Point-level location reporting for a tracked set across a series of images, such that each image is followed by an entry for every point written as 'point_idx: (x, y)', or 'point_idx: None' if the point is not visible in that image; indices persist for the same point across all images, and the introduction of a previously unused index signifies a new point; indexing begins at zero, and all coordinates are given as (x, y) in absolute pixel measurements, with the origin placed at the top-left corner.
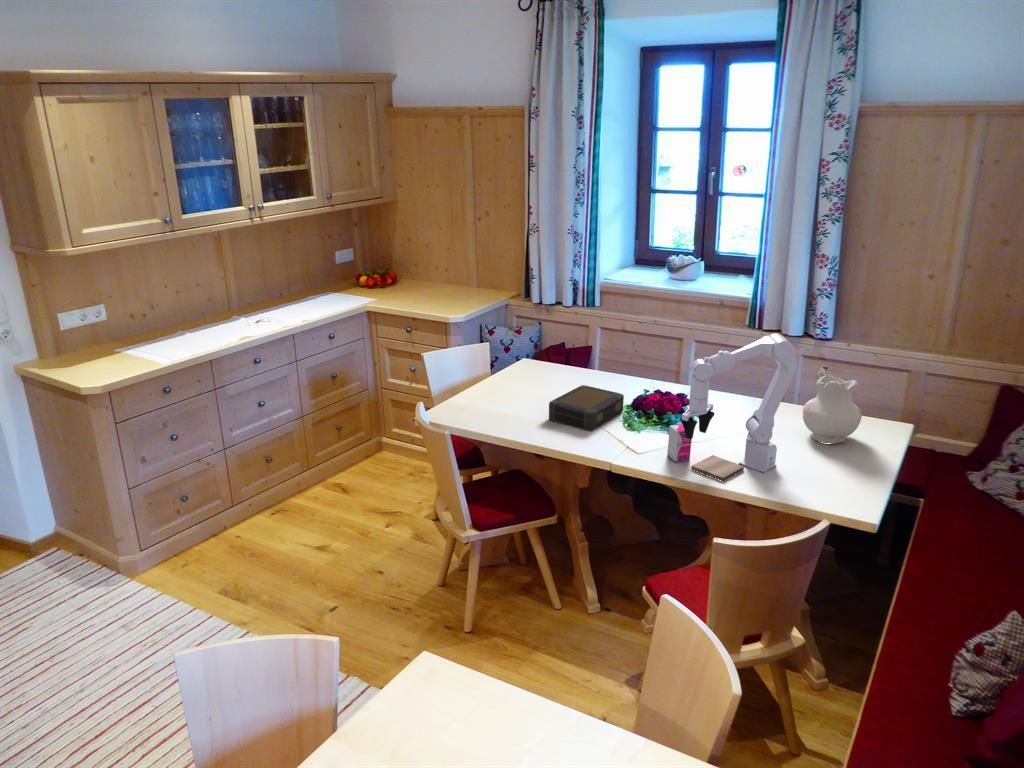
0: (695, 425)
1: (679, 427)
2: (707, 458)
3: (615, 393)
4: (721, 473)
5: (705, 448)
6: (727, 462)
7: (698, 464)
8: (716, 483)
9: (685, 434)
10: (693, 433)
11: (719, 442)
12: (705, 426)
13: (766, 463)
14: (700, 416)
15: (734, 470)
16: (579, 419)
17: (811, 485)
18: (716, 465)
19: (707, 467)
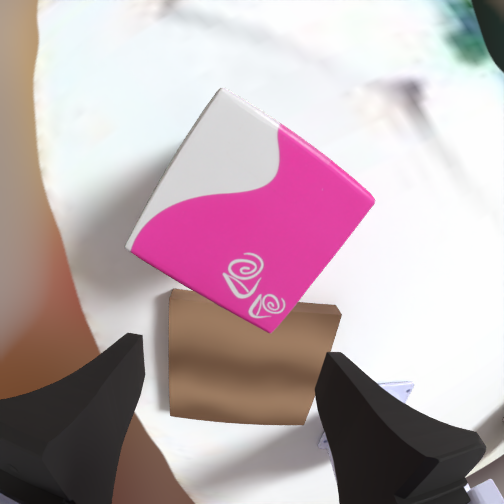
0: (109, 490)
1: (242, 204)
2: (292, 315)
3: None
4: (195, 404)
5: (420, 229)
6: (304, 383)
7: (203, 315)
8: (147, 395)
9: (113, 346)
10: (131, 417)
11: (482, 247)
12: (330, 430)
13: (332, 465)
14: (381, 451)
15: (252, 420)
16: None
17: (308, 498)
18: (249, 369)
19: (204, 354)
